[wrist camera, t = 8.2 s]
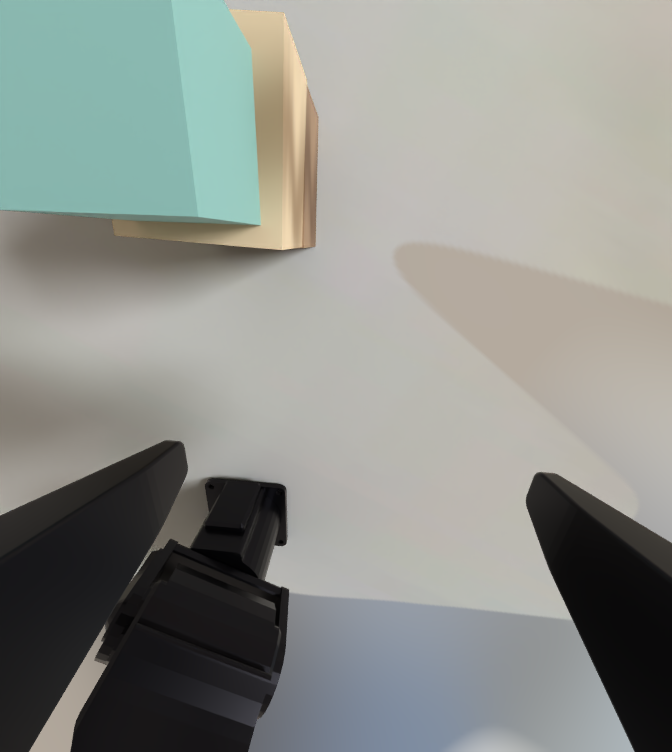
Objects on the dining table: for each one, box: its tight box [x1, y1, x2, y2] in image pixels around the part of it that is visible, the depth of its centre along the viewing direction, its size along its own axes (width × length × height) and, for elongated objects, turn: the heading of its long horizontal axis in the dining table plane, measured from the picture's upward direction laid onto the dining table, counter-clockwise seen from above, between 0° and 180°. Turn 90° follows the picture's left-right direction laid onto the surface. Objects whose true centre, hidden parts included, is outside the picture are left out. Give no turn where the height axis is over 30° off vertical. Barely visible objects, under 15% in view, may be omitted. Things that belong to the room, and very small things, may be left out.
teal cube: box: [0, 0, 261, 225], centre depth 8 cm, size 4×4×4 cm
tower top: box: [112, 9, 307, 250], centre depth 12 cm, size 6×6×4 cm
